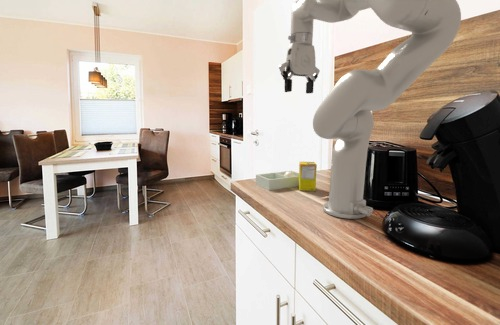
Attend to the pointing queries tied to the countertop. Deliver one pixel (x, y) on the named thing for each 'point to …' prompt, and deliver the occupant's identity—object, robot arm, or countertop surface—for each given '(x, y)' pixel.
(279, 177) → the tray
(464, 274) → the countertop surface
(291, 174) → the egg
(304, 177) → the supplement box
